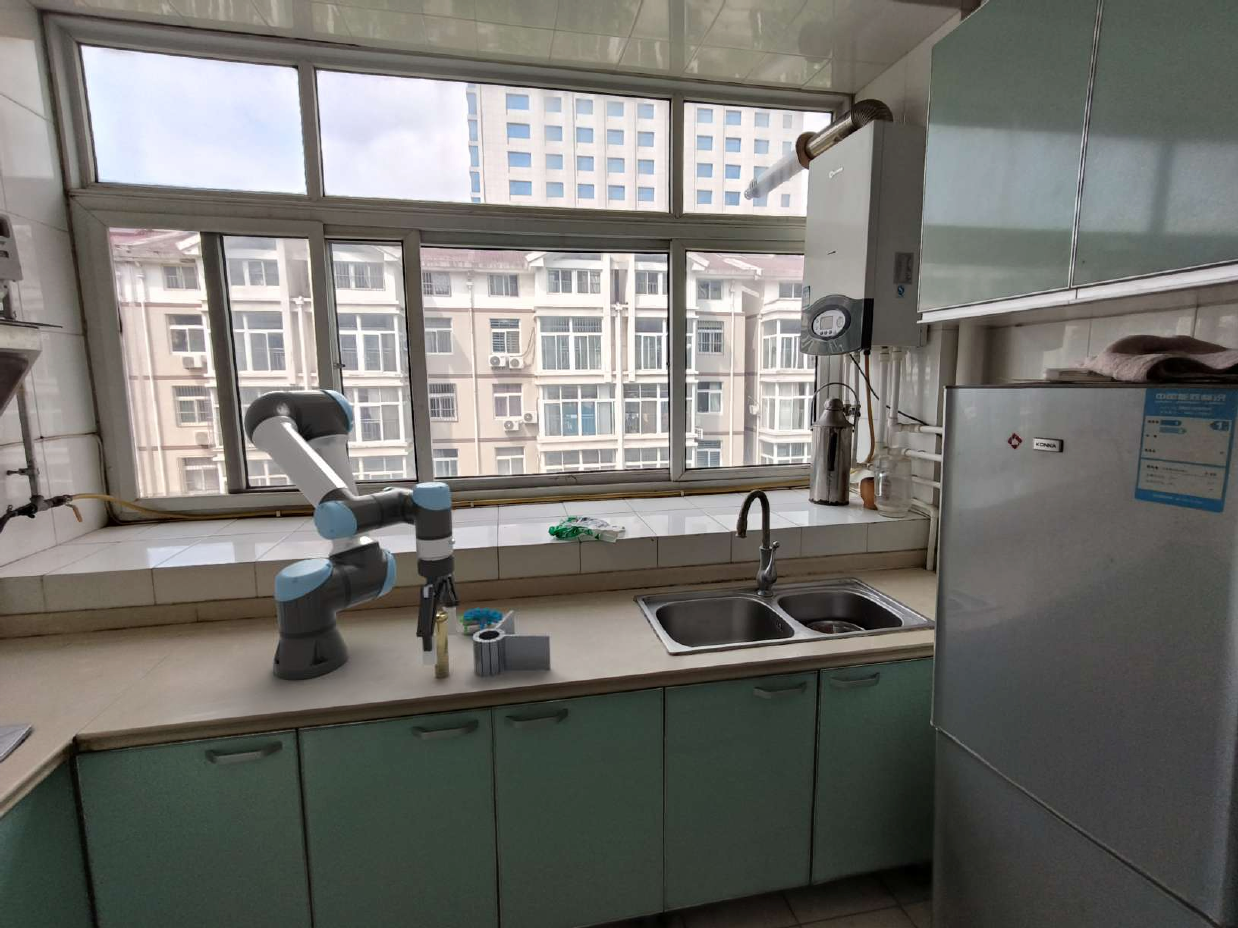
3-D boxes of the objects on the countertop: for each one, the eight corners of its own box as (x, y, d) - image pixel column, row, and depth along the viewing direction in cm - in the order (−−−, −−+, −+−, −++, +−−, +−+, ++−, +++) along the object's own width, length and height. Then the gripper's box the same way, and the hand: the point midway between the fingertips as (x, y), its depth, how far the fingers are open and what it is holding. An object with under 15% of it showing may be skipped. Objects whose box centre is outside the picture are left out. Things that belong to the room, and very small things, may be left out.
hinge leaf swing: (499, 660, 133) (497, 627, 132) (495, 660, 134) (494, 627, 132) (514, 640, 143) (513, 610, 142) (511, 640, 143) (510, 610, 142)
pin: (430, 679, 125) (427, 618, 123) (436, 670, 129) (433, 611, 127) (448, 679, 125) (444, 618, 123) (453, 670, 129) (450, 611, 127)
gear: (508, 617, 153) (496, 603, 145) (506, 639, 150) (494, 625, 142) (468, 622, 154) (454, 607, 146) (465, 643, 151) (451, 630, 143)
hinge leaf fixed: (471, 676, 126) (469, 642, 125) (479, 660, 133) (477, 628, 132) (548, 676, 126) (547, 642, 125) (552, 661, 133) (551, 628, 132)
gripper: (433, 575, 110) (439, 677, 114) (469, 538, 135) (473, 623, 138) (394, 575, 111) (401, 677, 114) (437, 538, 135) (442, 623, 139)
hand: (441, 648), depth 126 cm, fingers open, 13 cm apart
